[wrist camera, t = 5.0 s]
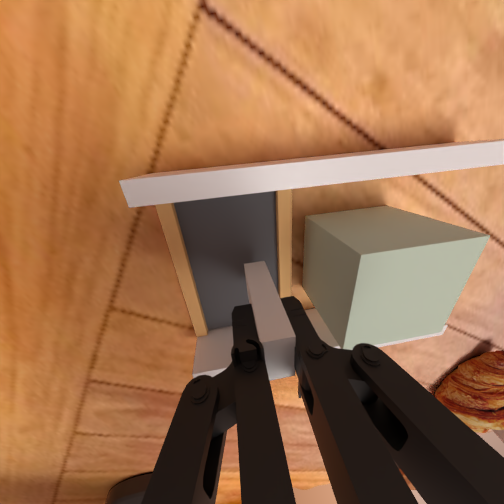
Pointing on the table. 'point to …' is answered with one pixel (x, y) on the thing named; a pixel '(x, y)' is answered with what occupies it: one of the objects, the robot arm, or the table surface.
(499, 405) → the croissant
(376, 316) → the block
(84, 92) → the table surface
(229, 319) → the drawer
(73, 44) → the table surface
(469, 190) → the table surface
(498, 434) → the coffee cup
